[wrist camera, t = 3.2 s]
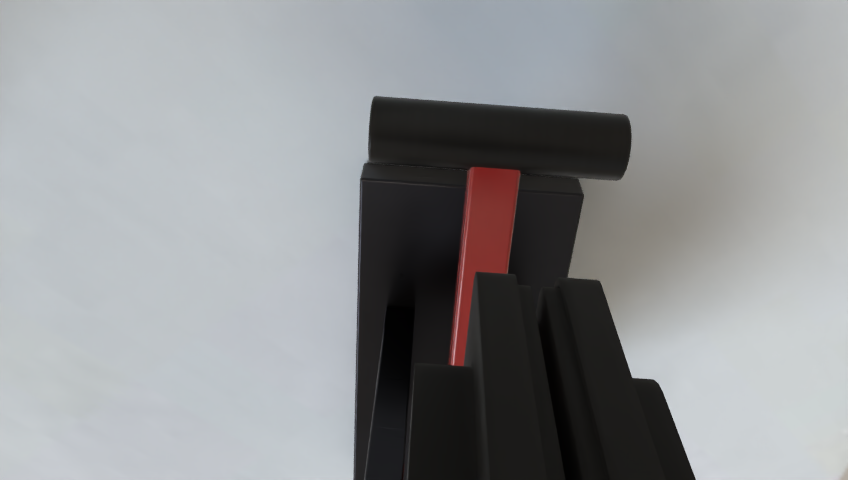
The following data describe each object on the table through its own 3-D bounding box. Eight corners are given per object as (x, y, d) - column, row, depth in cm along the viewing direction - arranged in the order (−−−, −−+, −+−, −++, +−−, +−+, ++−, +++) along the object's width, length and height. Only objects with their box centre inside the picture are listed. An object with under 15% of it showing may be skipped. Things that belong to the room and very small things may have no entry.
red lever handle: (376, 85, 17) (367, 110, 14) (615, 103, 17) (642, 130, 14) (358, 518, 22) (349, 585, 20) (539, 531, 22) (550, 599, 20)
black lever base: (363, 162, 23) (315, 361, 15) (578, 177, 24) (650, 385, 15) (356, 462, 31) (321, 710, 22) (521, 473, 31) (547, 725, 22)
